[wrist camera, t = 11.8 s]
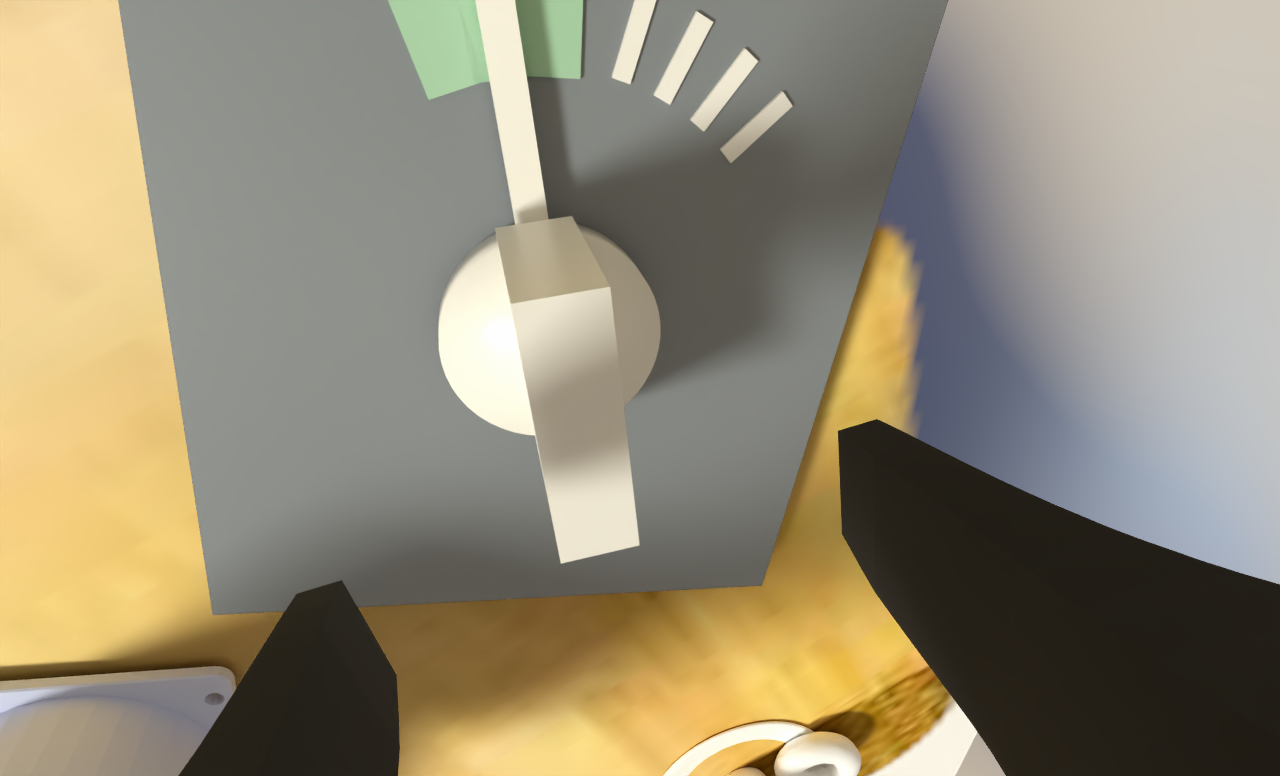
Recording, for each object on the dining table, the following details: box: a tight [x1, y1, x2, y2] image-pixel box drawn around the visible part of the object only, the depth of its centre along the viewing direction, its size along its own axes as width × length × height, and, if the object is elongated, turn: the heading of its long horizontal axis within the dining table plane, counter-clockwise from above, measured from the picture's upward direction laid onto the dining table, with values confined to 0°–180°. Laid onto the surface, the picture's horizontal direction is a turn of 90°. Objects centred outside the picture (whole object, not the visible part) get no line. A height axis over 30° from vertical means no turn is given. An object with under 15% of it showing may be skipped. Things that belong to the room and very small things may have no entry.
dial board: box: [118, 0, 948, 615], centre depth 18 cm, size 18×16×1 cm
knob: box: [438, 0, 661, 564], centre depth 14 cm, size 11×5×5 cm, turn 5°
